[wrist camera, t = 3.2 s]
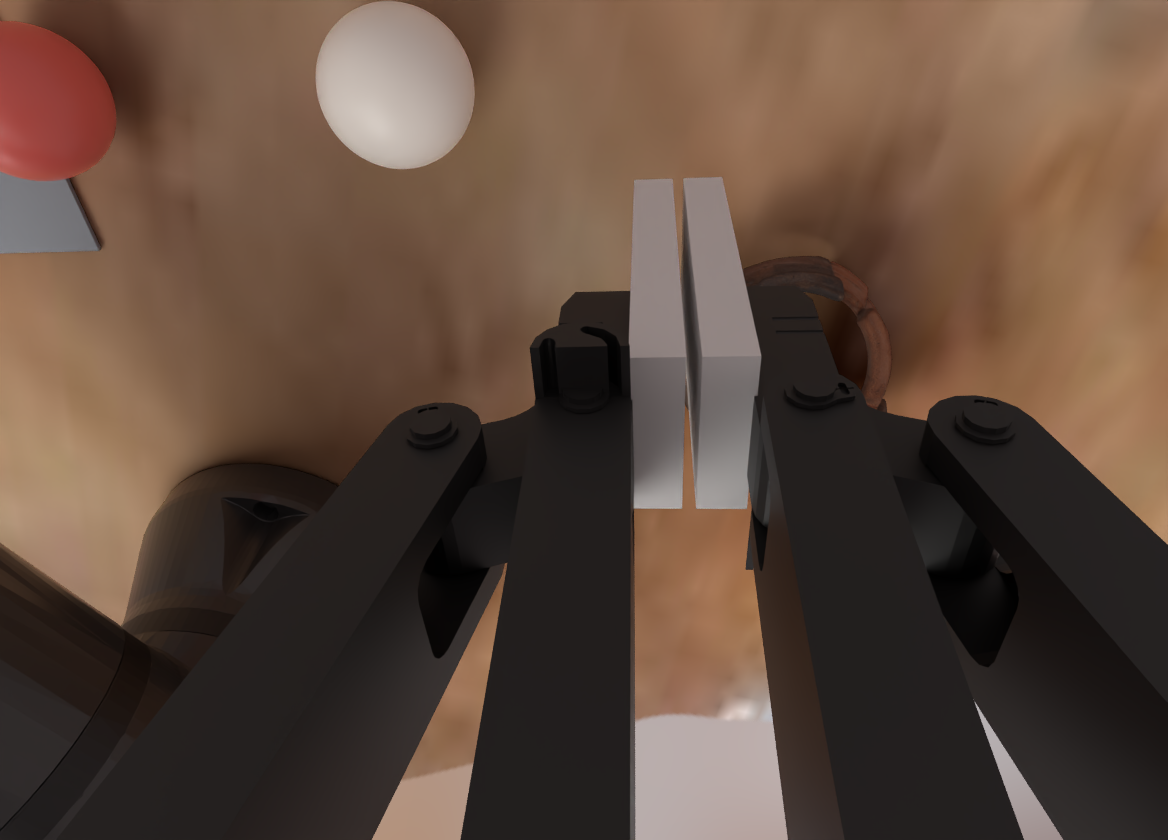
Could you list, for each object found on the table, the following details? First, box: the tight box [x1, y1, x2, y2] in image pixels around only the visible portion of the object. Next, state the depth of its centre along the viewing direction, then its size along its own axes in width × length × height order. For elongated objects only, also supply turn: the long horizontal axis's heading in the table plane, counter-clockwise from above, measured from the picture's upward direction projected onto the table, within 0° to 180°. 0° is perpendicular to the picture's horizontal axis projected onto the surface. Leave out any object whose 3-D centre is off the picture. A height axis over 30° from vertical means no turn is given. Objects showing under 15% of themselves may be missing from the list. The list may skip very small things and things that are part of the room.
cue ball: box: [316, 1, 475, 169], centre depth 28 cm, size 6×6×6 cm
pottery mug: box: [685, 256, 892, 413], centre depth 34 cm, size 12×10×8 cm
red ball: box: [0, 21, 116, 181], centre depth 29 cm, size 6×6×6 cm
